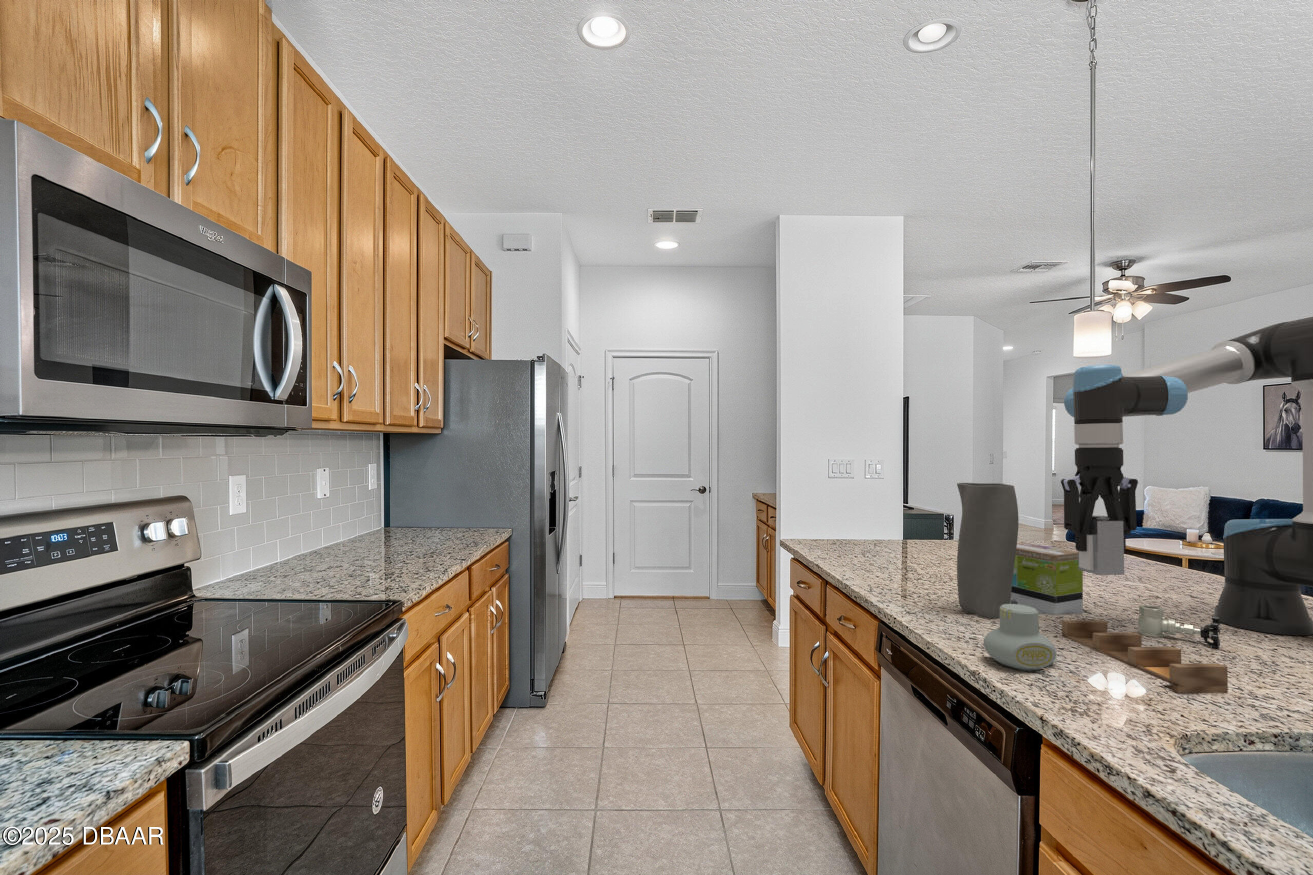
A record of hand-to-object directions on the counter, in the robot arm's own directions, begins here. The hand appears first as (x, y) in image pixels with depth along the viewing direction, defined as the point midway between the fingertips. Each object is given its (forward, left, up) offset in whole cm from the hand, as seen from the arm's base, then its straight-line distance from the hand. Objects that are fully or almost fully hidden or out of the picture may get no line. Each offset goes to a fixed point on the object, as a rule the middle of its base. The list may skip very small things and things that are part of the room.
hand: (1100, 567), depth 115 cm
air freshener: (+21, +8, -16) cm, 28 cm away
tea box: (-7, -28, -16) cm, 33 cm away
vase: (+9, -22, -15) cm, 28 cm away
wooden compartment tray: (0, +8, -15) cm, 17 cm away
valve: (-17, -2, -16) cm, 23 cm away
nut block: (0, 0, -1) cm, 1 cm away
